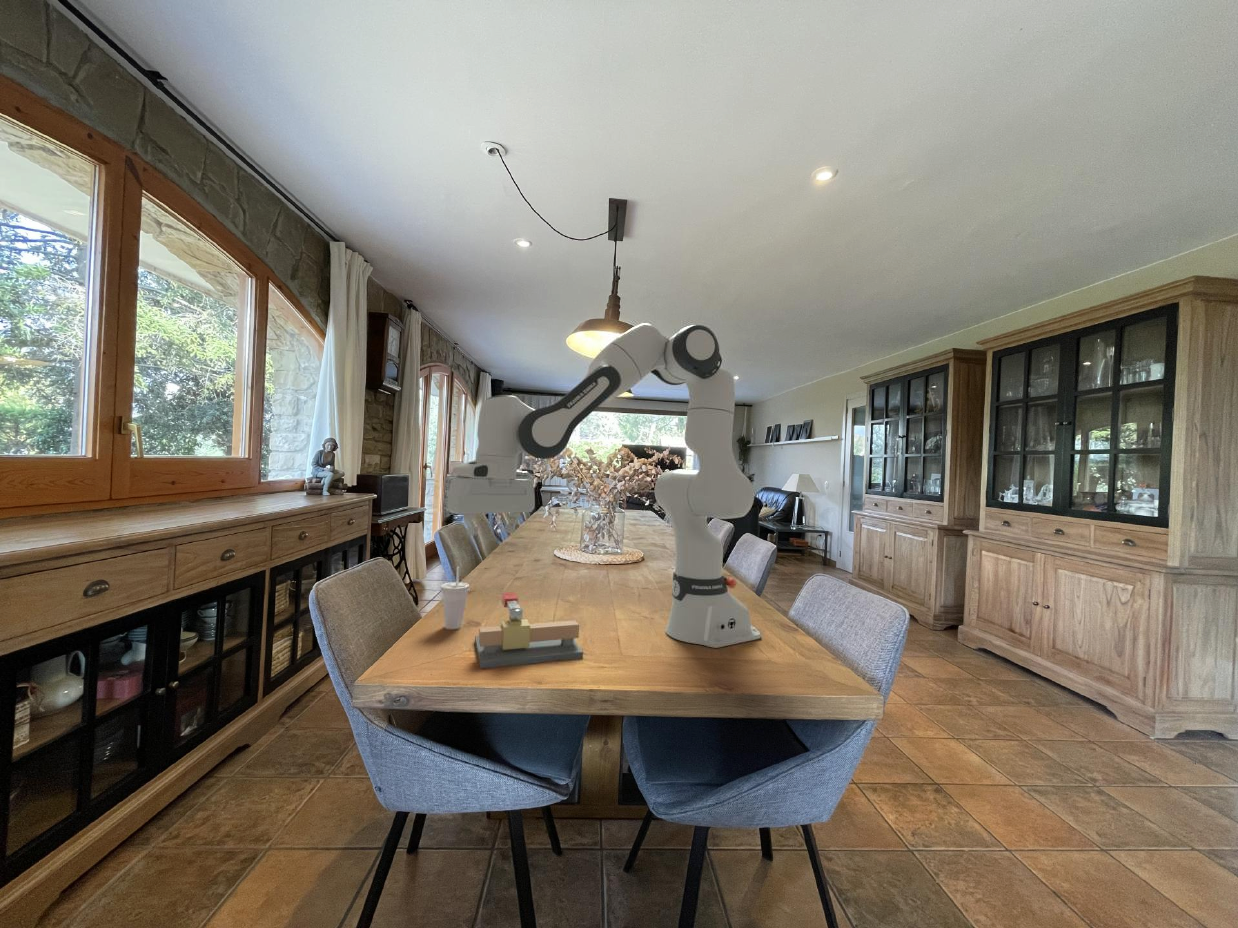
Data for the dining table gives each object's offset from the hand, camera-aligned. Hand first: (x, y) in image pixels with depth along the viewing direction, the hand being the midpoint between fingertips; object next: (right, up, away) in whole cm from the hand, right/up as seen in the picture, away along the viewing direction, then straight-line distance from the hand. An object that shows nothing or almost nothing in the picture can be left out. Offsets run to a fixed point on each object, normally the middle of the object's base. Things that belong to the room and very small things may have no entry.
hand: (491, 533), depth 106 cm
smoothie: (-11, -23, +9) cm, 27 cm away
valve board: (+8, -24, -3) cm, 25 cm away
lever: (+5, -16, -1) cm, 17 cm away
